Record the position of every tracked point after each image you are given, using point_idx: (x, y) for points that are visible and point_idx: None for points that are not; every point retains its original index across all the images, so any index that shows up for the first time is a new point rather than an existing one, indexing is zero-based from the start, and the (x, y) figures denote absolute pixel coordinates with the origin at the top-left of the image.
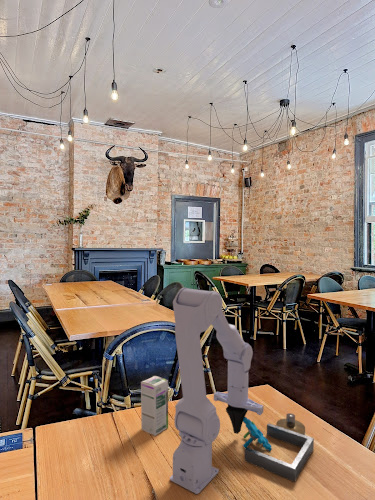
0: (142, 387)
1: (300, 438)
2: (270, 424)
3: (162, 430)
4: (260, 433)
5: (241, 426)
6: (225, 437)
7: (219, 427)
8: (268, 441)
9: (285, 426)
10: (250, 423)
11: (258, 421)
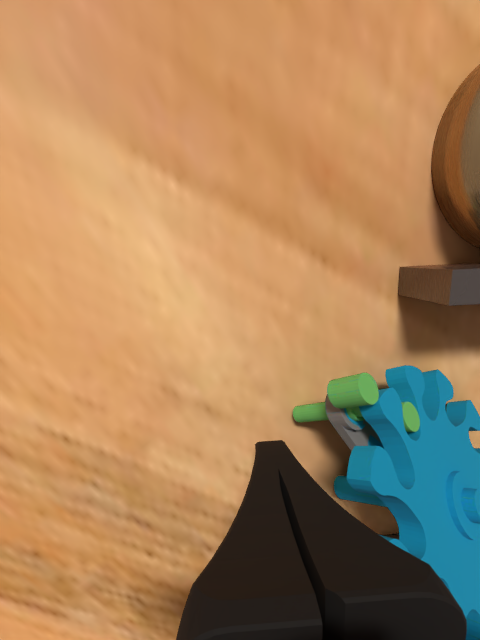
0: None
1: None
2: (474, 280)
3: None
4: (467, 482)
5: (293, 455)
6: (206, 463)
7: None
8: (448, 380)
9: None
10: (434, 561)
11: (282, 158)
